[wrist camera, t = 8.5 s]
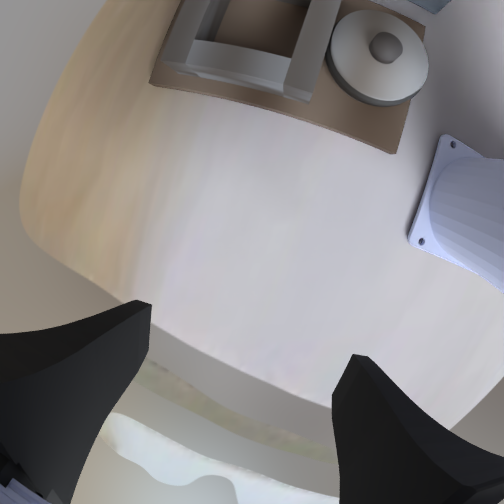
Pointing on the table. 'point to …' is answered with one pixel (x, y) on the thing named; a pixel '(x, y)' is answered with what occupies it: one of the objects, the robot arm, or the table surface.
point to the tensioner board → (301, 61)
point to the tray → (431, 4)
